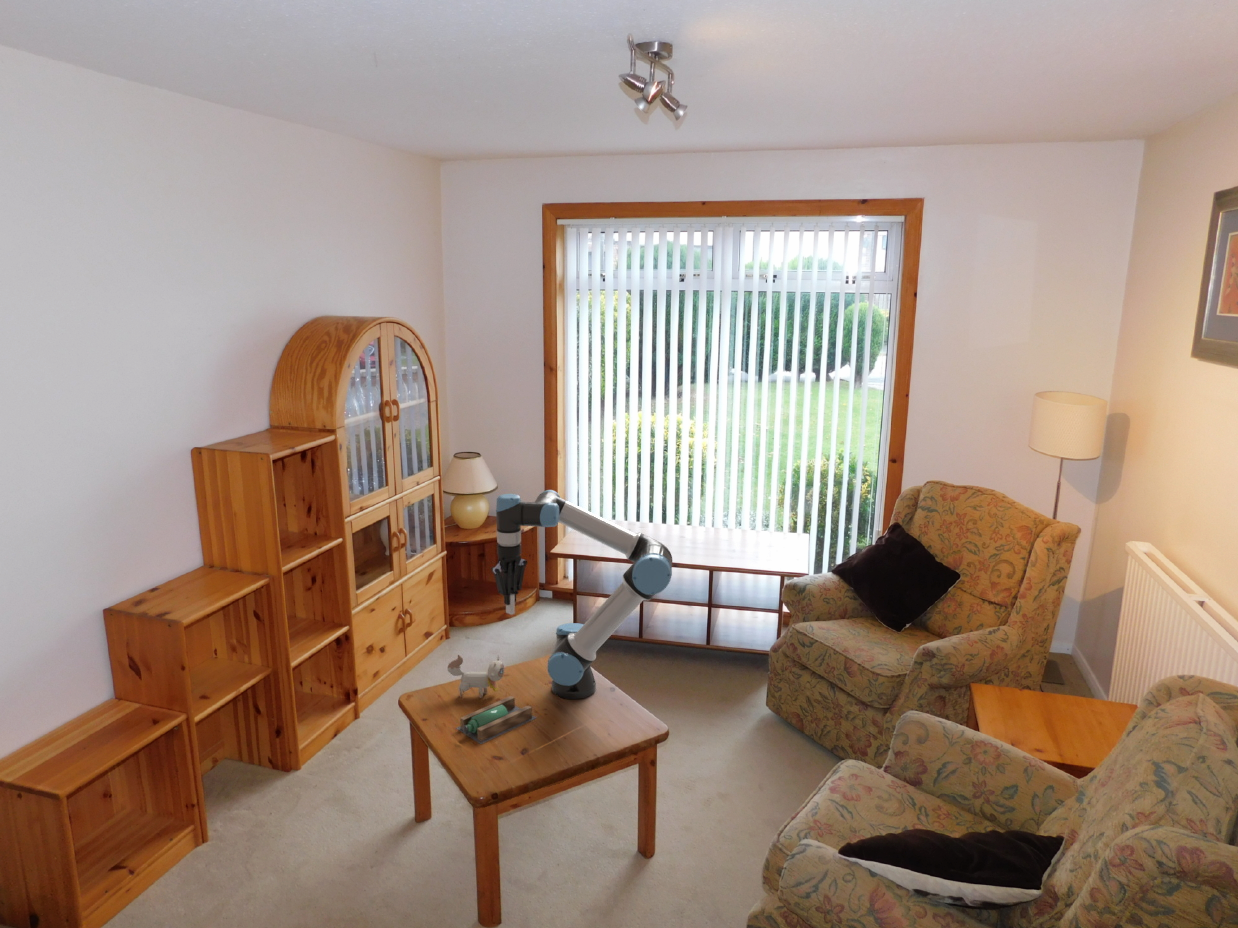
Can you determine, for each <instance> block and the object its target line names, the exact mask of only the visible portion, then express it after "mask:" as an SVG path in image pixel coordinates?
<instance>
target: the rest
mask: <svg viewBox="0 0 1238 928" xmlns="http://www.w3.org/2000/svg"><path fill="white" fill-rule="evenodd" d="M515 698H516V697H515V696H512V695H509V696H507V697H505V698H502V699H501V700H498V701H495V702H494V703H491V704H489V705H487V706H485V707H482V708H480V709H478V710H476V711H473V712H470V713H469V714H466V715H464V716H461V717H460V718H459V721H460V722H459V724H460V726H461V729H462V727H463V726H464V725H468V722H469V721H471V718H472V717H473V716H476V715H478V714H480V713H483V712H485V711H487V710H490V709H492V708H494V707H497V706H499V705H503V706H505V708H506V709H507V711H509V710H511V709H513V708H515V706H516V704H515ZM532 715H533V707H532V706H530V705H525V706H524V707H522V708H520V709H519V710H517V711H515V712H512V713H510V714H508V715H506V716H504V717H501V718H499V719H497V720H495V721H492V722H490V723H488V724H486V725H484V726H481V727H479V728H477V739H478V740H480V741H483V740H485V739H487V738H489V737H492V736H494V735H496V734H498V733H500V732H502V731H504V730H507V729H509V728H511V727H513V726H515V725H517V724H519V723H522V722H524V721H526V720H528V719H530V718H532Z"/></svg>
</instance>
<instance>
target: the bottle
mask: <svg viewBox="0 0 1238 928" xmlns="http://www.w3.org/2000/svg"><path fill="white" fill-rule="evenodd" d="M506 715H508V711H507V709H506V708H505V706H503V705H499V706H497V707H494V708H492V709H490V710H487V711H485V712H483V713H480V714H478V715H476V716H473V717H472V718H471V721H469V722H468V725H464V726H463V727H462V730H463V732H464V733H465V734H467V733H468V732H470V731H471V732H472V733H477V728H479V727H481V726H484V725H486V724H488V723H490V722H492V721H495V720H497V719H499V718H501V717H504V716H506ZM464 733H463V734H464ZM465 734H464V735H465Z"/></svg>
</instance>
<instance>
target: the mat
mask: <svg viewBox="0 0 1238 928" xmlns="http://www.w3.org/2000/svg"><path fill="white" fill-rule="evenodd" d="M519 709H521V708H520V707H518V706H517V705H515V708H513V709H511V710H509V711H508V714H510V713H512V712H515V711H517V710H519ZM535 719H537V716H534V715H533V714H532V718H530V719H528V720H526V721H524V722H522V723H519V724H517V725H515V726H513V727H511V728H509V729H507V730H504V731H502V732H500V733H498V734H496V735H494V736H492V737H489V738H487V739H485V740H483V741H480V740H478V739H477V733H472V732H471V731H470V732H468V733H467V734H465V733H464V732H463V730H462V729H461V725H460V726H458V727H455V729H456V730H458V731H460V733H462V734H464V735H465V736H467V737H469V738H470V739H471V740H473V741H475V742H476V743H478V744H479V745H483V744H484V743H487V742H488V741H491V740H493V739H495V738H498V737H500V736H502V735H504V734H507V733H508V732H510V731H512V730H514V729H517V728H519V727H520V726H523V725H526V724H527V723H529V722H532V721H533V720H535Z"/></svg>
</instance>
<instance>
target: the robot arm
mask: <svg viewBox="0 0 1238 928" xmlns="http://www.w3.org/2000/svg"><path fill="white" fill-rule="evenodd" d="M495 508H496V509H495V512H496V513H495V514H496V541H497V544H496V550H497V551H496V554H497V557H498V559H497V564H496V565H495V567H494V566H493V567H491V570H490V571H492V573H493V575H494V579H495V584H496V588H497V591H498V594H499V595H502V596H503V601H504V602H503V603H504V605H505V613H506V614H509V615H510V616H512V615H515V614H516V607H515V605H516V602H517V595H519V591H521V590H522V587H523V582H524V575H525V570H526V569H525V568H526V566H527V565H528V561H527V559H523V558H522V556H521V555H522V530H521V529H522V527H542V528H551V527H552V528H555V527H556V526H558V524H559V523H560V524H562V525H563V526H566V527H568V528H570V529H572V530H573V531H575V532H578V533H580V534H582V535H584V536H586V537H588V538H591V539H593V540H594V541H597V542H599V543H600V544H602V545H605V546H607V547H609V548H611V549H613V550H615V551H617V552H620V553H621V554H623V555H625V557H626V559H627V560H628V561H631V562H632V564H631V565H630V566H629V567H628V568H627V570H626V571H625V572H623V574H622V583H620V585H619V586H618V587H617V588H616V589H615V590H614V591H613V592H612V594H610V596H609V597H607V599H606V600H605V601H604V602H603V603H602V604H601V605H600V606H599V608H598V609H597V610H596V611H595V612H594V613H593V614H592V615H591V616H590V617H589V619H587V621H585V623H584V624H583V623H578V622H577V623H576V622H575V623H574V622H570V623H563V624H560V625H558V626H557V628H556V630H555V635H556V641H555V645H554V647H553V649H552V652H551V654H550V656H549V658H548V661H547V667H546V669H547V673H548V675H549V677H550V678H551V680H552V682H551V692H552V693H553V695H555V696H556V697H559V698H560V699H565V700H579V699H585V698H588V697H590V696H591V695H593V694H594V693H595V692H596V690H597V688H596V687H597V685H596V684H597V682H596V679H595V676H594V673H593V670H592V667H591V665H592V663H594V661H595V660H596V659H597V651H598V650H599V649H600V648H601V646H603V644H605V642H606V641H607V640H608V639H609V638H610V637H611V635H613V634H614V632H615V631H616V630H617V629H618V628H619V627H620V626H621V625H622V624H623V623H624V622H625V621H626V620H627V618H628V617H629V616H631V614H632V613H633V612H634V611H635V610H636V609H637V608H638V606H639V605H641V603H642V602H644V601H651V600H652V599H653V598H654V597H655V596H656V595H657V594H659V593H662V592H663V591H664V590H665V589H666V588H667V587H668V585H669V584H670V582H671V579H672V576H673V574H672V573H673V568H672V567H673V556H672V553H671V551H670V550H669V548H668V547H667V546H665V544H663V543H662V542H660V541H658V540H656V539H654V538H652V537H650V536H648V535H646V534H643V532H637V533H634V532H633V531H631V530H628V529H626V528H624V527H622V526H620V525H618V524H616V523H613V521H612V522H611V520H607V519H605V518H603V517H601V516H599V515H597V514H595V513H593V512H590V511H589V510H586V509H584V508H582V507H580V506H578V505H576V504H574V503H571V501H570V502H569V501H567V500H566V499H565V498H562V497H561V496H560V493H558V492H557V491H555V490H553V489H547V490H545V491H543V492H541V493H540V494H538V496H537V497H536V499H535V500H534V501H532V502H531V501H530V502H529V501H522V500H521V496H520V495H519V494H514V493H504V494H500V495H498V496H497V498H496V507H495Z"/></svg>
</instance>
